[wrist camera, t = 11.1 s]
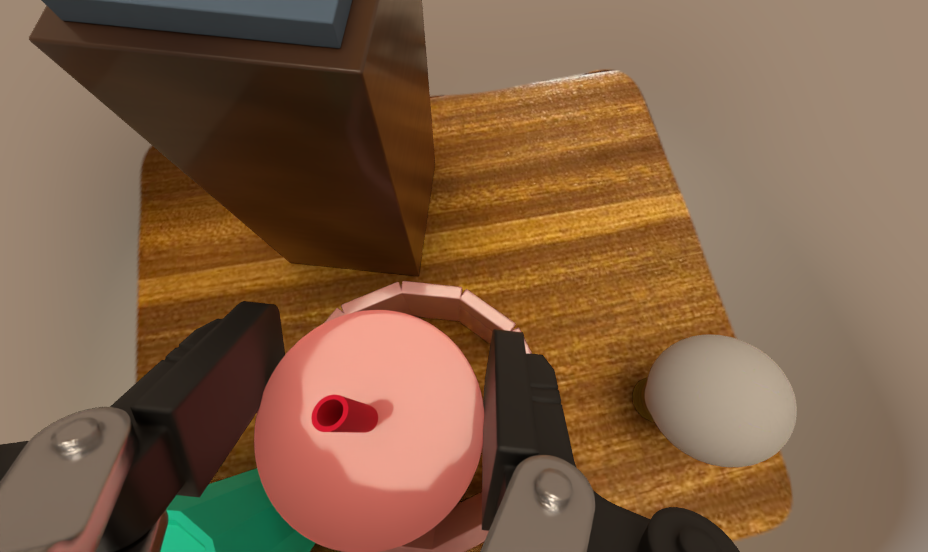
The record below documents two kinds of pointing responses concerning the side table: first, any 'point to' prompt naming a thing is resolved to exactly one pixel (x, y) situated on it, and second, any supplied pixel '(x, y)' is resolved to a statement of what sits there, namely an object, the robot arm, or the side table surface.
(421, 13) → the stand
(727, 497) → the side table surface
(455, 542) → the pink segmented ring
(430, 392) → the cup
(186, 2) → the coaster
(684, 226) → the side table surface
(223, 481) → the candle
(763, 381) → the light bulb
